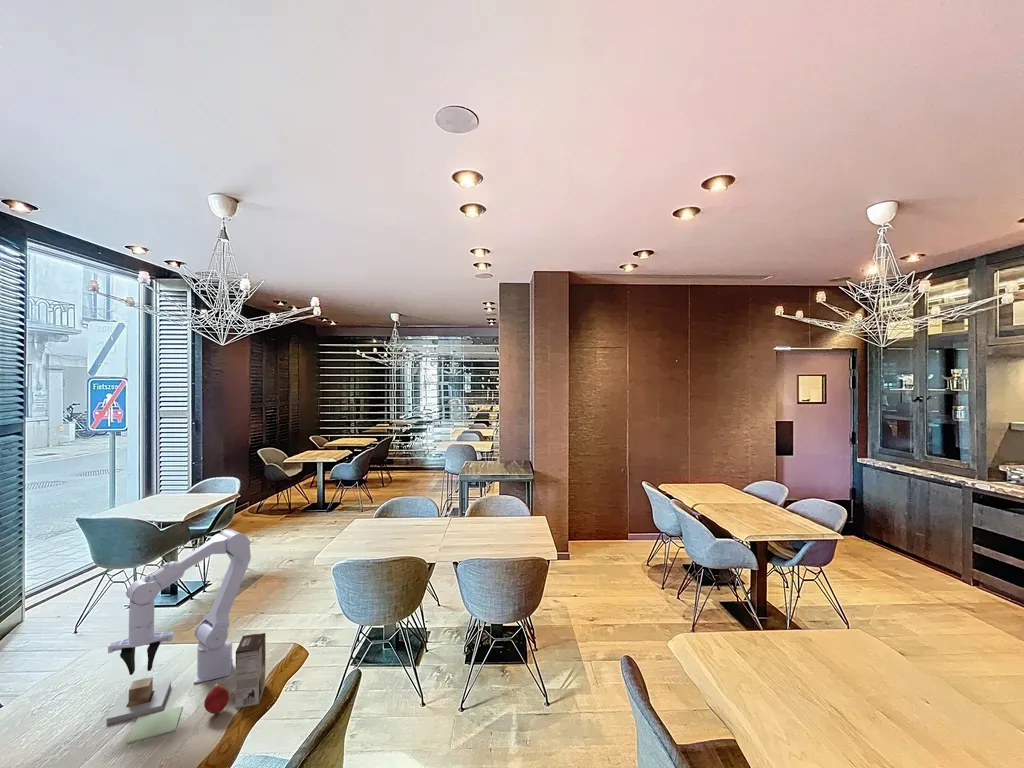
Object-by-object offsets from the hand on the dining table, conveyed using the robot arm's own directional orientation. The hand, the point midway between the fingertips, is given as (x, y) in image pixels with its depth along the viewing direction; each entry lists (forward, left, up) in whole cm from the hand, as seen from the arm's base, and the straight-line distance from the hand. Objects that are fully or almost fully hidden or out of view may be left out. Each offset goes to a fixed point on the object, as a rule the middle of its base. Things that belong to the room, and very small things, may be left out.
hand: (141, 671), depth 133 cm
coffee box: (-28, +10, -10) cm, 31 cm away
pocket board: (0, 0, -9) cm, 9 cm away
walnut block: (0, 0, -10) cm, 10 cm away
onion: (-20, +14, -10) cm, 26 cm away
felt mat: (-6, +12, -9) cm, 16 cm away
